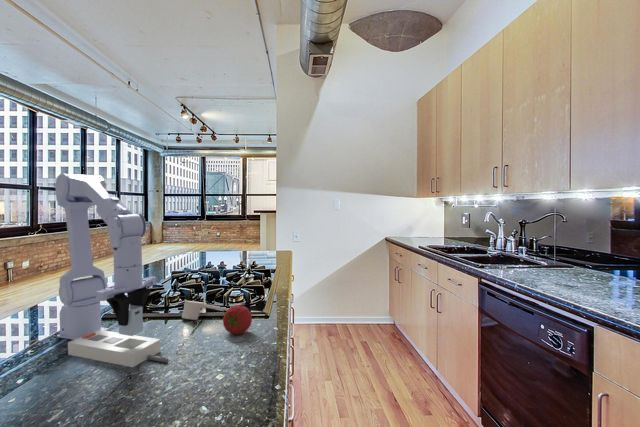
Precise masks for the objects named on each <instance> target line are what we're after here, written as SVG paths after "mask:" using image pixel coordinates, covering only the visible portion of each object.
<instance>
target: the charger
mask: <svg viewBox="0 0 640 427" xmlns="http://www.w3.org/2000/svg"><path fill="white" fill-rule="evenodd" d="M143 311H144V308H143V309H142V306H135V305H130V306H129V320H128V325H126V326H121V325H119V324H118V333H119V334H122V335H128V336H134V335H136V336H137V335H138V334H140V333H142V332H143V331H144V319H143V318H144V315H143Z"/></svg>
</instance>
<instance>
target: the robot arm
mask: <svg viewBox="0 0 640 427" xmlns="http://www.w3.org/2000/svg"><path fill="white" fill-rule="evenodd" d="M106 186H107V185H106V180H105V179H104V178H103V176H102V175H100V174H99V175H98V174H95V175H90V174H75V173H74V174H71V173H66V172H64V173H63V172H61V173H60V174H59V175H58V176H57V177H56V181H55V184H54V187H55V197H56V201H57V206H59V207H61V208H63V209H64V213H65V219H66V220H65V221H66V230H67V239H68V248H69V259H70V266H71V267H70V269H68V270H67V271H66V272H65V273H64V274H62V275H61V276H60V278H59V286H58V297H59V299H60V302H61V304H63V306H61V308H60V311H59V330H60V331H59V333H58V334H57V335H56V337H57V338H61V339H67V340H71V341H73V340H75V339H78V338H80V337H82V336H83V335H85V334H88V333H90V332H95V331H98V330H105V331H109V330H110V328H109V327H104V326H103V327H102V320H101V319H102V315H101V302H107V304H109V305H110V308H111V309H112V310H113V313H114V315H115V318H116V321H117V324H118V326H119V325H121V326H126V325H128V320H129V306H130V305H135V306H142V309H143V310H144V307H145V304H146V302H147V299H148V298H149V296H150V294H151V288H147V287H151V286H154V285H155V286H156V285H157V277H156V276H148V277H143V258H142V257H143V256H142V254H143V253H142V237H144V236H145V235H146V232H147V221H146V218H145V216H143V214H142V213H140V212H137V213H136V212H132V211H131V210H130V209H129V208H128V207H127V206H126V204H124V203H123V202H122V201H121V200H120V199H119V197H116V196H115V197H113V196H112V197H111V196H110V194H109V192H108V190H106V188H107V187H106ZM93 206H96V208H95V209H96V213H97V215H98V216H99V218H101V219H102V221H103V222H104V223H105V224H106V225H107V226H106V229H107V234H108V236H109V244H110V247H111V248H113V250H112V251H113V255H112V256H113V280H114V281H113V282H114V284H112V285H110V286H108V282H107V279H106V276H105V272H104V270H102V269H101V268H99V267H97V266H95V265H94V261H93V254H92V253H93V252H92V251H93V250H92V242H91V234H90V224H89V215H88V213H89V212H88V210H89V209H90V208H91V207H93Z"/></svg>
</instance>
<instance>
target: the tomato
mask: <svg viewBox="0 0 640 427" xmlns="http://www.w3.org/2000/svg"><path fill="white" fill-rule="evenodd" d="M252 317H253V316H252V313H251V311H250V309H249V308H248V307H246V306H245V305H240V304H239V305H238V304H236V305H235V304H234V305H232V306H230V308H229V309H228V310H227V311H225V312H224V314H223V318H222V323H223V327H224V329H225V331H227V332H228V333H229V334H231V335H238V336H239V335H242V334H244V333H245V332H247V331H248V329H249V328H250V327H251V325H252V321H253V318H252Z"/></svg>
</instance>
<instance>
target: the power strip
mask: <svg viewBox="0 0 640 427" xmlns="http://www.w3.org/2000/svg"><path fill="white" fill-rule="evenodd" d="M161 345H162V344H161V339H160V338H154V337H147V336H141V335H137V334H136V335H134V336H128V335H122V334H119V332H116V331H109V330H108V331H105V330H98V331H95V332H90V333H88V334H85V335H83V336H82V337H80V338H78V339H75V340H70V341H68V342H67V350H68V351H67V354H68V356H73V357H78V358H79V357H80V358H84V359H88V360H93V361H98V362H102V363H108V364H114V365H119V366H124V367H128V368H129V367H130V368H134V367H136V366H138V365H139V364H141V363H143V362H144V361H146V360H150V361H155V362H160V363H165V364H167V363H168V362H170V361H169V360H170V359H169V357H168V358H167V357H165V356H157V354H159V353H161V350H162V349H161V347H162V346H161Z"/></svg>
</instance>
